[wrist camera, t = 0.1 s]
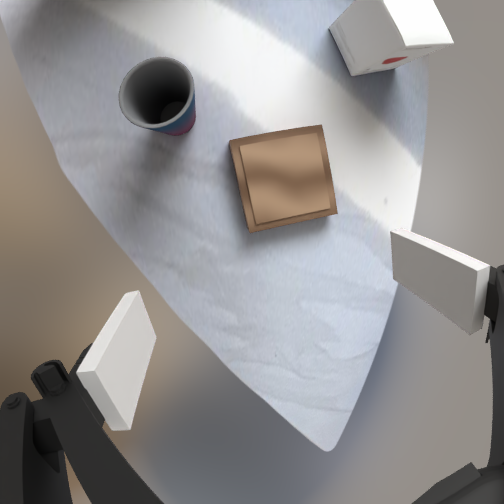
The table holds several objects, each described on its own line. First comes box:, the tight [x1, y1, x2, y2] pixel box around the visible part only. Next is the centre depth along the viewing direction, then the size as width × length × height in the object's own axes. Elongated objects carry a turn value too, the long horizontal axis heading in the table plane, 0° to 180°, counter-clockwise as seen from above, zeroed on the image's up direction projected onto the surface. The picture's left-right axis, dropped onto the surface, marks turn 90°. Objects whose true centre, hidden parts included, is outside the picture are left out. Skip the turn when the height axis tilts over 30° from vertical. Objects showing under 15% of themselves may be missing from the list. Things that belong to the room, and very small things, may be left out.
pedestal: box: [229, 125, 338, 233], centre depth 39 cm, size 12×12×3 cm
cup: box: [119, 57, 196, 135], centre depth 30 cm, size 7×7×15 cm
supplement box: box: [329, 0, 454, 76], centre depth 30 cm, size 9×9×15 cm
